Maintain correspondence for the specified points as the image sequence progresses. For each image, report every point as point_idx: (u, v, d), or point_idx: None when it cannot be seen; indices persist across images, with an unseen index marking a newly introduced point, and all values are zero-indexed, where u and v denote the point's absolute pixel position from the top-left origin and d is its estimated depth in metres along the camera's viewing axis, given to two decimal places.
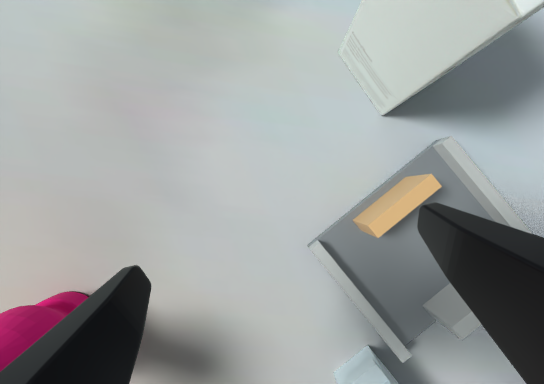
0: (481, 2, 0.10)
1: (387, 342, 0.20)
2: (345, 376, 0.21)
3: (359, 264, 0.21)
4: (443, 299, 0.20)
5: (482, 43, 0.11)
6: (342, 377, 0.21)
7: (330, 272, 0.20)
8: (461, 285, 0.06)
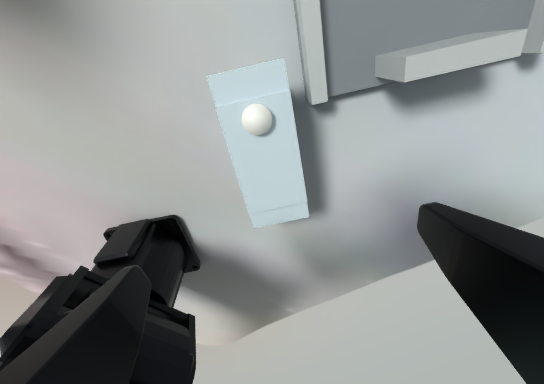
0: None
1: (310, 67, 0.14)
2: None
3: None
4: (407, 50, 0.14)
5: None
6: None
7: None
8: (461, 285, 0.06)
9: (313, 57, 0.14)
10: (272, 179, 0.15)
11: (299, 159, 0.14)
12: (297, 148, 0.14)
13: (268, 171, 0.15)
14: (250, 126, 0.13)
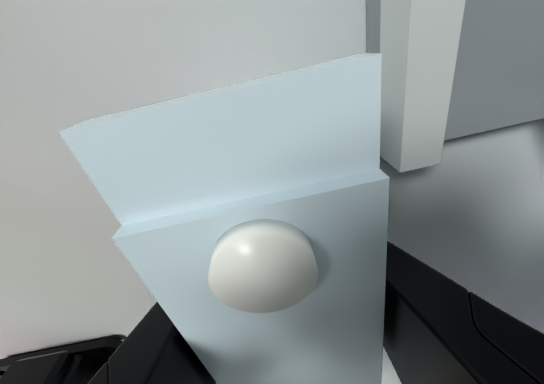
0: None
1: (412, 80, 0.05)
2: None
3: None
4: None
5: None
6: None
7: None
8: None
9: (426, 53, 0.05)
10: (303, 371, 0.06)
11: (379, 334, 0.05)
12: (379, 315, 0.05)
13: (293, 359, 0.06)
14: (241, 295, 0.04)
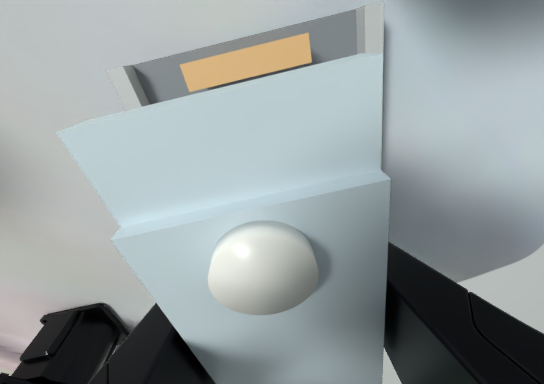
0: None
1: None
2: None
3: None
4: None
5: None
6: None
7: None
8: None
9: None
10: (304, 372, 0.06)
11: (380, 336, 0.05)
12: (380, 317, 0.05)
13: (293, 361, 0.05)
14: (241, 297, 0.04)
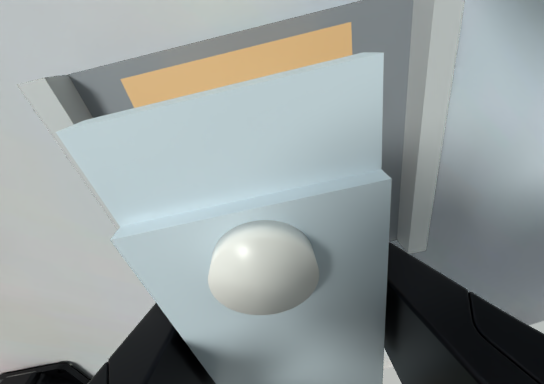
0: None
1: None
2: None
3: None
4: None
5: None
6: None
7: (66, 151, 0.09)
8: None
9: None
10: (304, 372, 0.06)
11: (380, 336, 0.05)
12: (380, 317, 0.05)
13: (293, 361, 0.05)
14: (241, 297, 0.04)
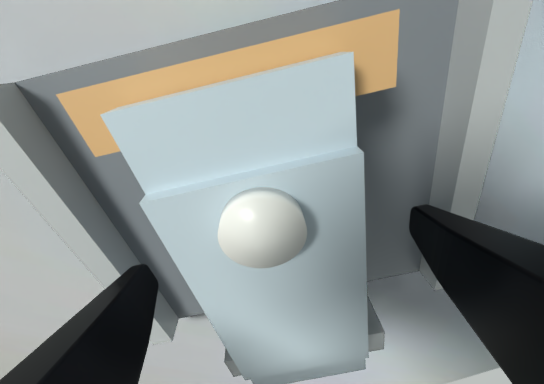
0: None
1: None
2: None
3: (132, 187, 0.09)
4: None
5: None
6: None
7: (14, 180, 0.07)
8: (451, 287, 0.06)
9: None
10: (298, 331, 0.07)
11: (364, 296, 0.06)
12: (362, 277, 0.06)
13: (289, 319, 0.06)
14: (244, 251, 0.04)
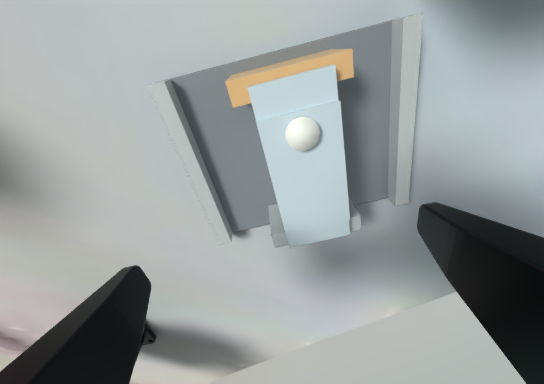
0: None
1: (211, 224, 0.18)
2: None
3: (218, 138, 0.16)
4: None
5: None
6: None
7: (168, 128, 0.14)
8: (461, 285, 0.06)
9: (212, 218, 0.18)
10: (314, 197, 0.14)
11: (344, 175, 0.13)
12: (343, 163, 0.13)
13: (310, 188, 0.13)
14: (295, 141, 0.12)
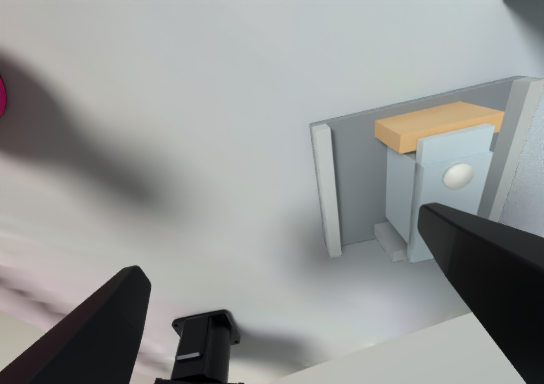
0: None
1: (330, 240, 0.21)
2: None
3: (349, 169, 0.19)
4: None
5: None
6: None
7: (321, 164, 0.17)
8: (461, 285, 0.06)
9: (332, 236, 0.21)
10: None
11: (477, 206, 0.16)
12: (479, 197, 0.16)
13: None
14: (452, 182, 0.15)
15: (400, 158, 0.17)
